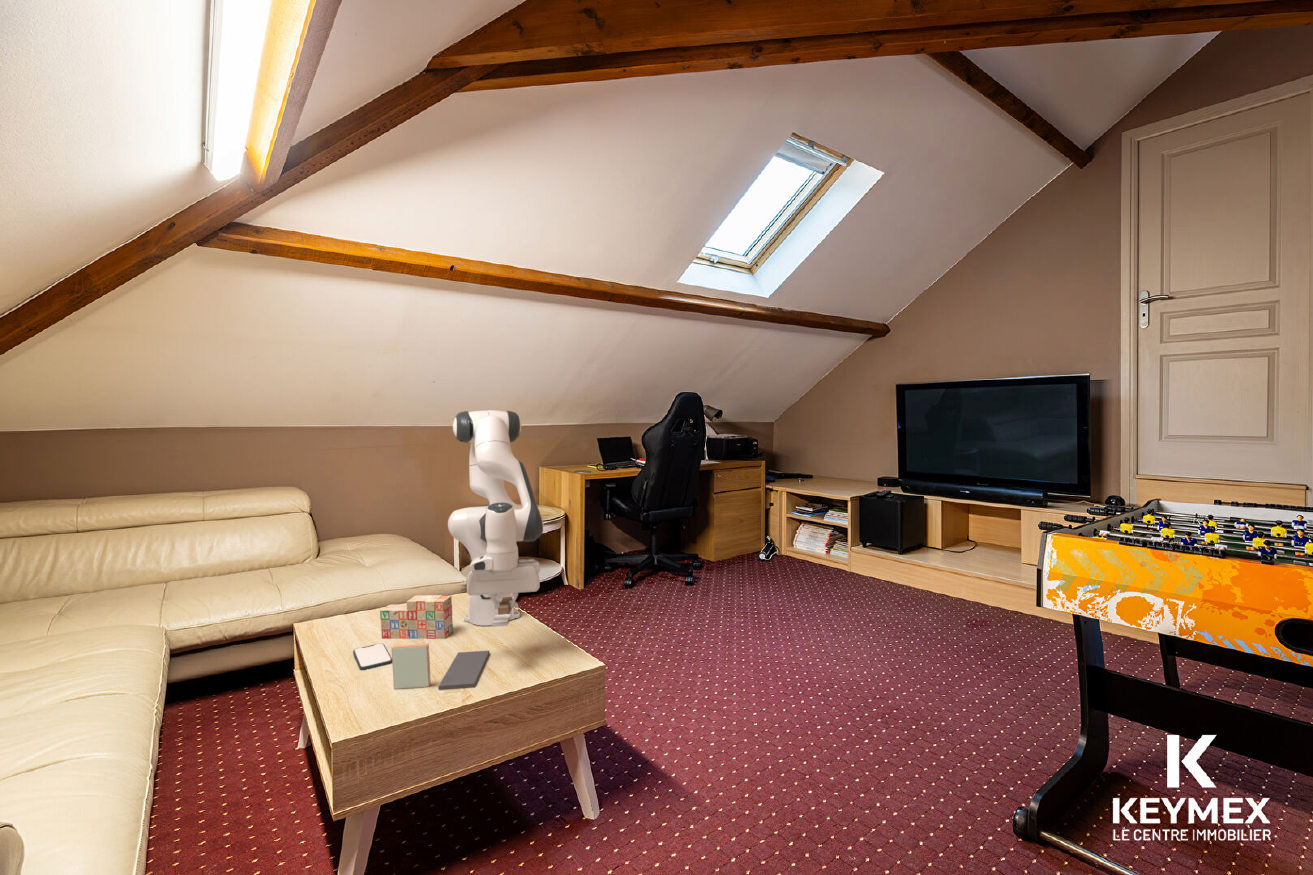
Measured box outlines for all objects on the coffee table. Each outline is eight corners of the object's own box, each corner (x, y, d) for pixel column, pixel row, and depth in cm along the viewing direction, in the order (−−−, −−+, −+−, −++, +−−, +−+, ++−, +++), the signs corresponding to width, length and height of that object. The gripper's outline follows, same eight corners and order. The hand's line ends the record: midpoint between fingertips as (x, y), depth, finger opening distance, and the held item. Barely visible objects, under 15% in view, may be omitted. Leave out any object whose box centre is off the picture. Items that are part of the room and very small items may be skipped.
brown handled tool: (501, 607, 184) (500, 597, 184) (515, 606, 184) (514, 596, 184) (492, 626, 168) (492, 615, 168) (507, 625, 169) (507, 614, 168)
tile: (395, 686, 163) (393, 645, 162) (430, 684, 164) (428, 643, 163) (393, 689, 161) (391, 648, 161) (429, 686, 162) (426, 645, 162)
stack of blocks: (381, 639, 198) (378, 601, 198) (391, 631, 205) (389, 595, 204) (445, 639, 196) (443, 600, 196) (453, 632, 202) (451, 594, 202)
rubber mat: (458, 655, 182) (458, 652, 182) (489, 653, 183) (489, 650, 183) (438, 689, 160) (438, 685, 160) (474, 687, 161) (474, 683, 161)
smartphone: (393, 665, 179) (384, 647, 192) (393, 660, 178) (383, 642, 192) (360, 673, 174) (352, 654, 187) (359, 668, 174) (352, 649, 187)
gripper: (540, 555, 182) (542, 602, 182) (468, 559, 180) (471, 606, 180) (538, 561, 175) (540, 609, 176) (464, 565, 173) (466, 613, 174)
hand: (504, 607), depth 178 cm, fingers closed on brown handled tool, 3 cm apart
